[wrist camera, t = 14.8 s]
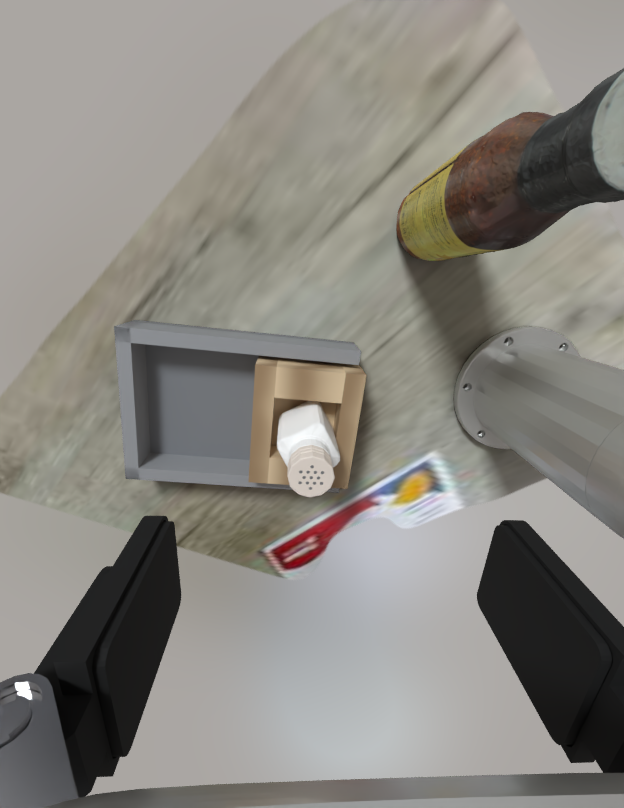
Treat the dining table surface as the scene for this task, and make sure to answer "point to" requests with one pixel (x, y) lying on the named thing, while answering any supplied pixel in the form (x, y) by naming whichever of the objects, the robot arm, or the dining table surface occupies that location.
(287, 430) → the salt shaker
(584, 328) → the dining table surface
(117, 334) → the tray
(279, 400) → the shaker cabinet door
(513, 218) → the sauce bottle
